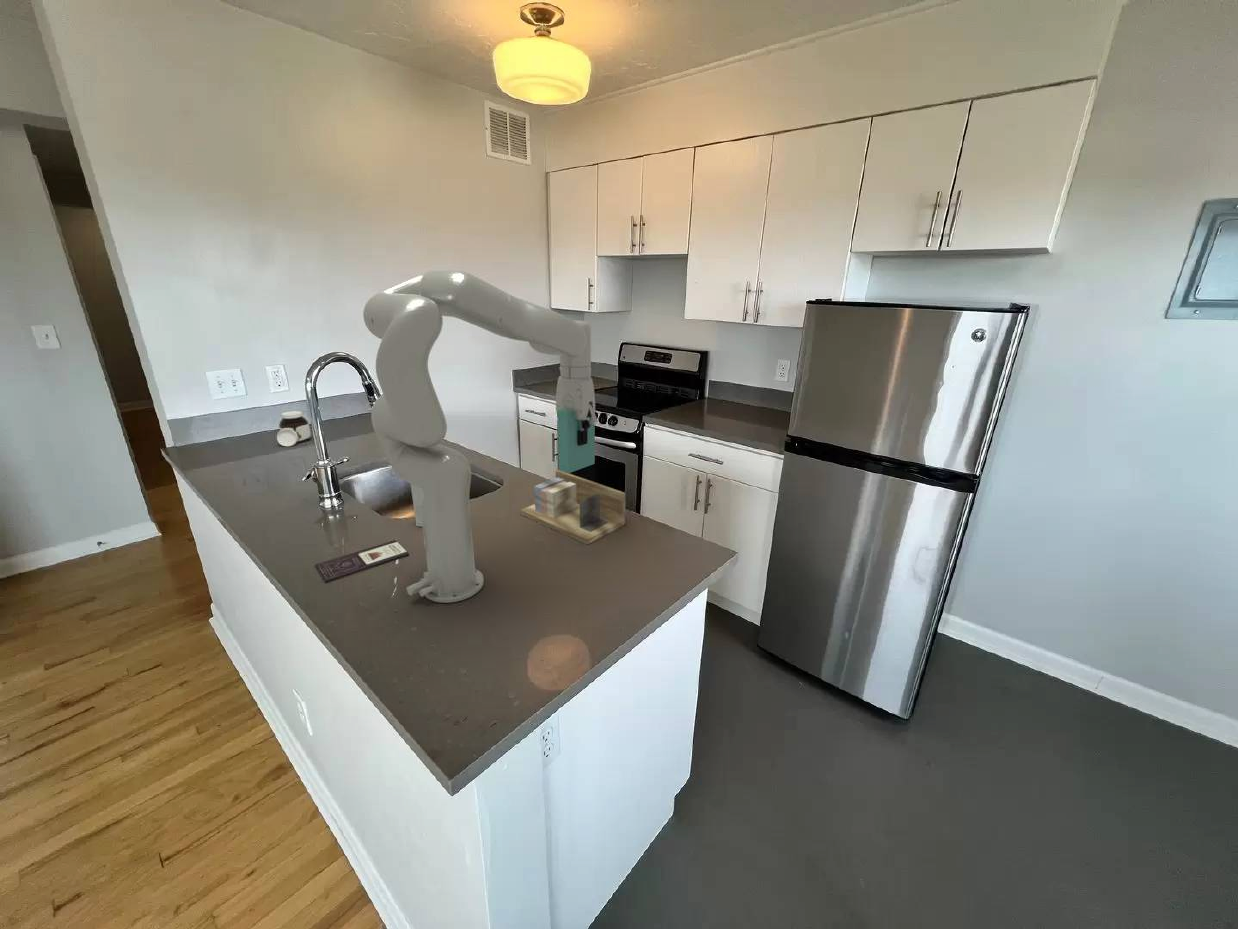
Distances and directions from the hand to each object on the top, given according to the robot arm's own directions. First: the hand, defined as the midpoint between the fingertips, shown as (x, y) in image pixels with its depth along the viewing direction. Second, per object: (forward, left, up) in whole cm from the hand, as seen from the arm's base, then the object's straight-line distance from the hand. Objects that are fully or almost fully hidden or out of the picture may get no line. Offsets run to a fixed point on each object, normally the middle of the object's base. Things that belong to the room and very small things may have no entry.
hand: (576, 442), depth 130 cm
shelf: (0, +2, -23) cm, 23 cm away
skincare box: (-26, +30, -23) cm, 46 cm away
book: (0, 0, -7) cm, 7 cm away
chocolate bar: (-48, +23, -24) cm, 58 cm away
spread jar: (-25, +133, -24) cm, 138 cm away
